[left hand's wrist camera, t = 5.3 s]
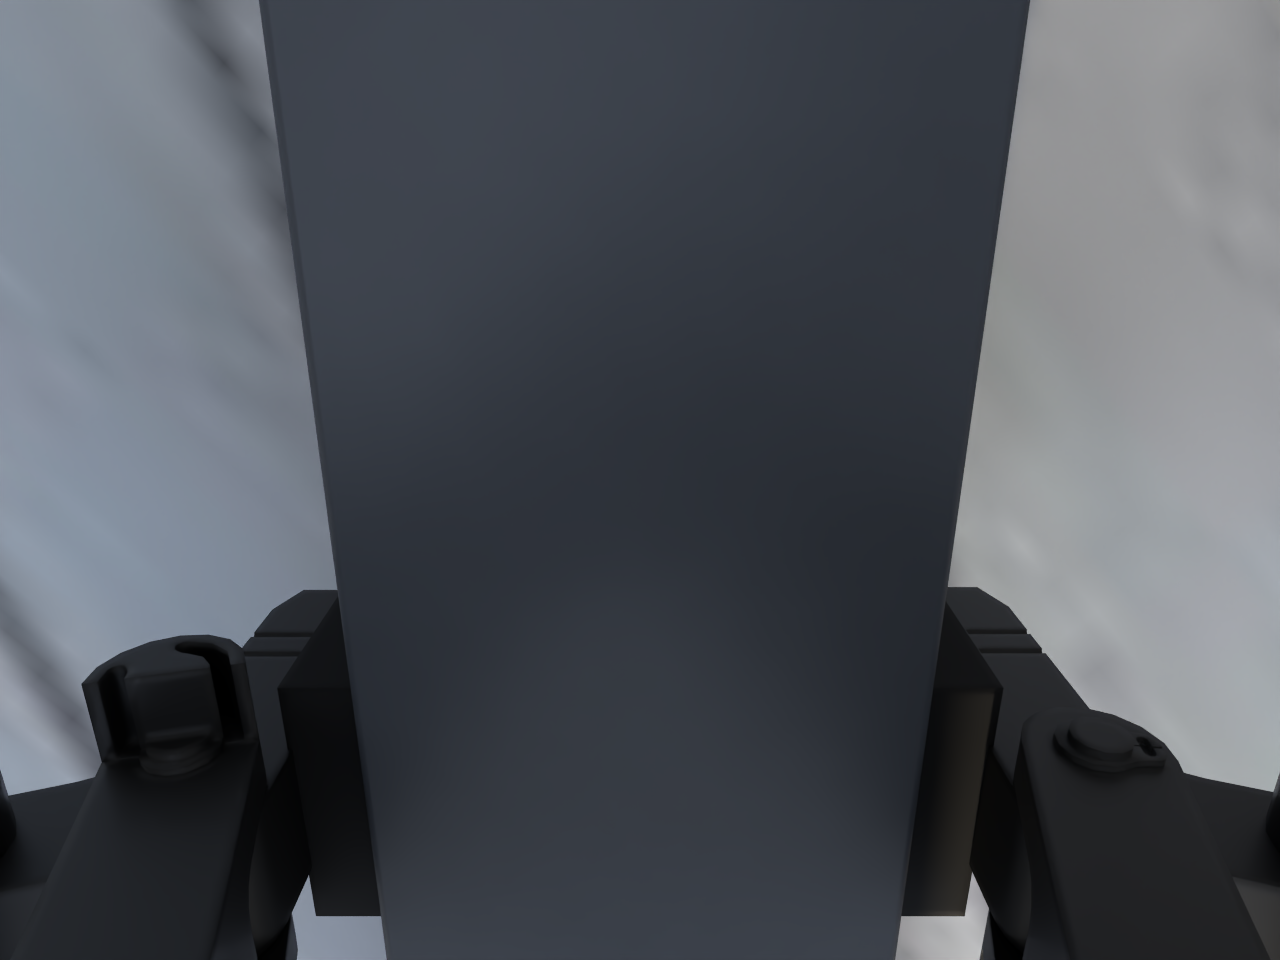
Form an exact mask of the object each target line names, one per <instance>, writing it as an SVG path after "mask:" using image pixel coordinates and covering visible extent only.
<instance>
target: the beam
mask: <svg viewBox="0 0 1280 960" xmlns="http://www.w3.org/2000/svg"><path fill="white" fill-rule="evenodd" d="M1029 4H1030V0H259V5H260V12H261V20H262V27H263V35H264V42H265V50H266V57H267V65H268V72H269V80H270V87H271V95H272V102H273V110H274V117H275V125H276V132H277V140H278V147H279V154H280V162H281V169H282V177H283V184H284V192H285V199H286V207H287V214H288V222H289V229H290V237H291V244H292V252H293V259H294V267H295V274H296V282H297V289H298V297H299V304H300V312H301V319H302V327H303V334H304V342H305V349H306V357H307V364H308V372H309V379H310V387H311V394H312V402H313V409H314V417H315V424H316V432H317V439H318V447H319V454H320V462H321V469H322V477H323V484H324V492H325V499H326V507H327V514H328V522H329V529H330V537H331V544H332V552H333V559H334V567H335V574H336V582H337V589H338V597H339V604H340V612H341V619H342V626H343V634H344V641H345V649H346V656H347V664H348V671H349V679H350V686H351V694H352V701H353V709H354V716H355V724H356V731H357V739H358V746H359V754H360V761H361V769H362V776H363V784H364V791H365V799H366V806H367V814H368V821H369V829H370V836H371V844H372V851H373V859H374V866H375V874H376V881H377V889H378V896H379V904H380V911H381V919H382V926H383V934H384V941H385V949H386V956H387V960H895V956H896V949H897V942H898V935H899V928H900V921H901V914H902V907H903V899H904V892H905V885H906V878H907V871H908V864H909V857H910V850H911V843H912V835H913V828H914V821H915V814H916V807H917V800H918V793H919V786H920V779H921V771H922V764H923V757H924V750H925V743H926V736H927V729H928V722H929V715H930V708H931V700H932V693H933V686H934V679H935V672H936V665H937V658H938V651H939V644H940V636H941V629H942V622H943V615H944V608H945V601H946V594H947V587H948V580H949V573H950V565H951V558H952V551H953V544H954V537H955V530H956V523H957V516H958V509H959V501H960V494H961V487H962V480H963V473H964V466H965V459H966V452H967V445H968V438H969V430H970V423H971V416H972V409H973V402H974V395H975V388H976V381H977V374H978V366H979V359H980V352H981V345H982V338H983V331H984V324H985V317H986V310H987V303H988V295H989V288H990V281H991V274H992V267H993V260H994V253H995V246H996V239H997V231H998V224H999V217H1000V210H1001V203H1002V196H1003V189H1004V182H1005V175H1006V167H1007V160H1008V153H1009V146H1010V139H1011V132H1012V125H1013V118H1014V111H1015V104H1016V96H1017V89H1018V82H1019V75H1020V68H1021V61H1022V54H1023V47H1024V40H1025V32H1026V25H1027V18H1028V11H1029Z"/></svg>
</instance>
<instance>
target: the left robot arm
mask: <svg viewBox="0 0 1280 960" xmlns="http://www.w3.org/2000/svg"><path fill="white" fill-rule="evenodd" d="M82 688H83V692H84V696H85V700H86V703H87V707H88V711H89V715H90V719H91V722H92V726H93V730H94V734H95V738H96V741H97V745H98V749H99V753H100V757H101V760H102V763H101V765H100V768H99V770H98V772H97V774H96V776H95V777H94V778H90V779H87V780H83V781H79V782H75V783H70V784H65V785H60V786H55V787H50V788H45V789H40V790H35V791H30V792H25V793H20V794H15V795H10V796H8V793H7V790H6V787H5V784H4V781H3V777H2V774H1V771H0V960H297V952H298V948H297V941H296V934H295V928H294V923H293V917H292V911H293V909H294V906H295V904H296V902H297V900H298V898H299V895H300V893H301V891H302V889H303V886H304V884H305V882H306V880H307V878H308V875H309V877H310V883H311V889H312V895H313V901H314V907H315V913H316V916H381V911H380V904H379V896H378V889H377V881H376V874H375V866H374V859H373V851H372V844H371V836H370V829H369V821H368V814H367V806H366V799H365V791H364V784H363V776H362V769H361V761H360V754H359V746H358V739H357V731H356V724H355V716H354V709H353V701H352V694H351V686H350V679H349V671H348V664H347V656H346V649H345V641H344V634H343V626H342V619H341V612H340V604H339V597H338V590H303V591H301V592H300V593H298V594H297V595H295V596H293V597H292V598H290V599H289V600H287V601H286V602H284V603H282V604H281V605H279V606H278V607H276V608H274V609H273V610H272V611H271V612H270V613H269V615H268V616H267V617H266V618H265V620H264V621H263V622H262V624H261V625H260V626H259V627H258V629H257V630H256V631H255V632H254V637H251V638H250V639H249V640H248V641H247V643H246V644H245V645H244V646H243V648H241V647H240V646H238V645H237V644H236V643H234V642H233V641H232V640H230V639H226V638H221V637H217V636H212V635H185V636H177V637H172V638H167V639H162V640H157V641H152V642H149V643H146V644H143V645H141V646H138V647H135V648H133V649H130V650H127V651H125V652H122V653H120V654H118V655H117V656H115V657H113V658H112V659H110V660H108V661H107V662H105V663H103V664H102V665H100V666H98V667H97V668H96V669H95V670H94V671H93V672H92V673H91V674H90V675H89V676H88V677H87V679H86V680H85V681H84V682H83V683H82ZM972 872H973V874H974V876H975V879H976V881H977V883H978V885H979V887H980V890H981V892H982V894H983V896H984V898H985V901H986V903H987V905H988V907H989V912H988V917H987V923H986V928H985V934H984V939H983V944H982V950H981V955H980V960H1280V774H1279V777H1278V780H1277V783H1276V786H1275V789H1274V792H1270V791H1265V790H1260V789H1255V788H1250V787H1245V786H1240V785H1235V784H1230V783H1225V782H1220V781H1215V780H1210V779H1205V778H1201V777H1197V776H1194V775H1190V774H1186V773H1184V772H1183V770H1182V768H1181V766H1180V764H1179V762H1178V760H1177V759H1176V758H1175V756H1174V755H1173V754H1172V753H1171V751H1170V750H1169V749H1168V747H1167V746H1166V745H1165V744H1164V743H1163V742H1162V741H1160V740H1159V739H1158V738H1156V737H1155V736H1153V735H1152V734H1151V733H1149V732H1148V731H1146V730H1145V729H1143V728H1142V727H1140V726H1138V725H1136V724H1133V723H1131V722H1129V721H1126V720H1124V719H1122V718H1120V717H1117V716H1115V715H1112V714H1108V713H1104V712H1100V711H1095V710H1091V709H1089V708H1088V706H1087V705H1086V704H1085V703H1084V701H1083V700H1082V699H1081V697H1080V696H1079V695H1078V694H1077V692H1076V691H1075V690H1074V689H1073V687H1072V686H1071V685H1070V684H1069V682H1068V681H1067V680H1066V679H1065V677H1064V676H1063V675H1062V673H1061V672H1060V671H1059V670H1058V668H1057V667H1056V666H1055V665H1054V663H1053V662H1052V661H1051V660H1050V658H1049V657H1048V656H1047V655H1046V653H1042V648H1041V647H1040V646H1039V644H1038V643H1037V642H1036V641H1035V639H1034V638H1033V637H1032V636H1031V634H1027V629H1026V628H1025V627H1024V626H1023V624H1022V623H1021V622H1020V620H1019V619H1018V618H1017V617H1016V615H1015V614H1014V613H1013V612H1012V610H1011V609H1010V608H1009V607H1008V606H1007V605H1005V604H1003V603H1002V602H1000V601H999V600H997V599H995V598H994V597H992V596H990V595H989V594H987V593H986V592H984V591H982V590H981V589H979V588H978V587H947V594H946V601H945V608H944V615H943V622H942V629H941V636H940V644H939V651H938V658H937V665H936V672H935V679H934V686H933V693H932V700H931V708H930V715H929V722H928V729H927V736H926V743H925V750H924V757H923V764H922V771H921V779H920V786H919V793H918V800H917V807H916V814H915V821H914V828H913V835H912V843H911V850H910V857H909V864H908V871H907V878H906V885H905V892H904V899H903V907H902V914H901V916H965V910H966V904H967V898H968V893H969V887H970V881H971V875H972Z"/></svg>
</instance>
